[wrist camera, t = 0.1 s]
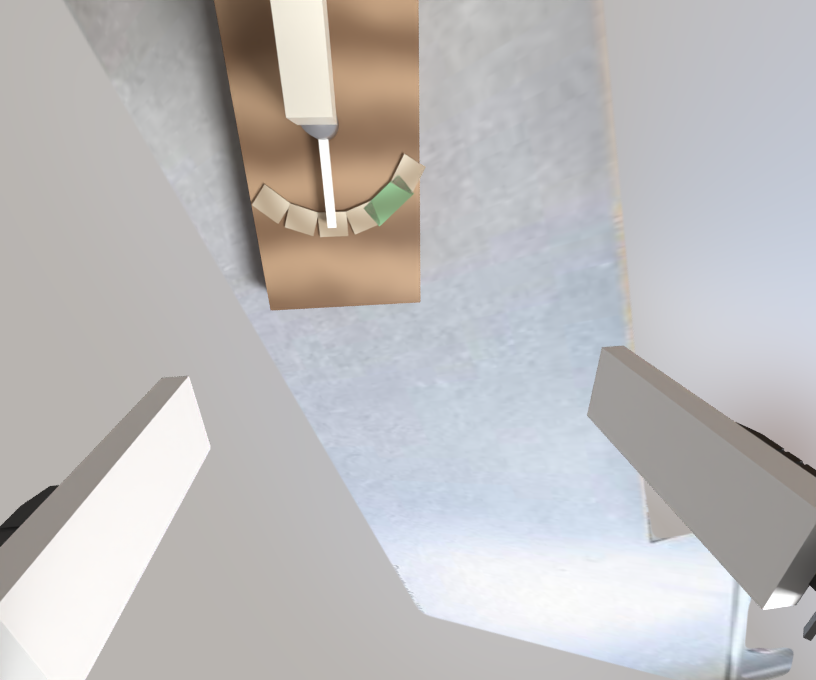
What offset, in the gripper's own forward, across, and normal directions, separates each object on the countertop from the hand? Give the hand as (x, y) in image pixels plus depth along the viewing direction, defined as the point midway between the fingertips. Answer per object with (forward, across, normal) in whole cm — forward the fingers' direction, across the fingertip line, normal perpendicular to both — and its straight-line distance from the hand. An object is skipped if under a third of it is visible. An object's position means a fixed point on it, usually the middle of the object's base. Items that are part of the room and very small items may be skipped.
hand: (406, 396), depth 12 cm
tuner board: (+28, -3, +9) cm, 29 cm away
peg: (+24, -4, +10) cm, 26 cm away
